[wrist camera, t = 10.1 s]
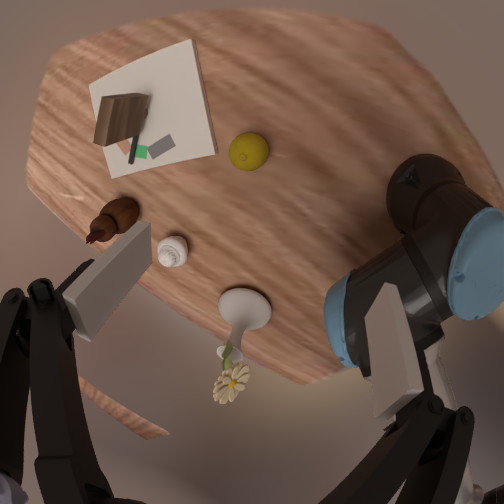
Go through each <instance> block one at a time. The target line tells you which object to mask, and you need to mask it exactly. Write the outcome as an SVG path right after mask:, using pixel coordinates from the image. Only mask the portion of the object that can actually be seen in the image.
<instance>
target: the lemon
mask: <svg viewBox="0 0 504 504" xmlns="http://www.w3.org/2000/svg"><path fill="white" fill-rule="evenodd" d="M268 153H269V150H268V145H267V143H266V141H265V140H264V139H263V138H262V137H261V136H260V135H258V134H255V133H244V134H241V135H239V136H237V137H236V138H235V139H234V140H233V141H232V143H231V145H230V148H229V158H230V160H231V162H232V164H233V165H234V166H235V167H236V168H238V169H240V170H243V171H253V170H256V169H258V168H259V167H261V166H262V165H263V164H264V163H265V162H266V160H267V158H268Z"/></svg>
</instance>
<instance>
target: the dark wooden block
mask: <svg viewBox="0 0 504 504" xmlns="http://www.w3.org/2000/svg"><path fill="white" fill-rule="evenodd" d="M148 97H149V95H145V94H141V93H128V94H118V95H109V96H102V98H101V102H100V107H99V112H98V117H97V123H96V129H95V135H94V142H93V143H95V144H98V145H101V146H104V147H106V146H109V145H112V144H114V143H117V142H120V141H123V140H126V139H129V138H132V137H133V140H132V144H131V149H130V155H129V160H128V164H131V165H132V164H133V162H134V157H135V152H136V147H137V142H138V138H139V133H140V129H141V125H142V121H143V119H145V118H146V117H147V115H148V111H147V109H146V105H147V101H148Z"/></svg>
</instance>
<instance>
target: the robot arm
mask: <svg viewBox="0 0 504 504" xmlns="http://www.w3.org/2000/svg"><path fill="white" fill-rule="evenodd" d="M386 200H387V209H388V212H389V215H390V218H391V220H392V221H393V223H394V225H395V226H396V228H397V229H398V230H399V232H400V233H401V234H402V235H404V236H405V237H404V238H402V239H401V240H399V241H398V242H396V243H395V244H393V245H392V246H390V247H389V248H387V249H386V250H385V251H383V252H382V253H380V254H379V255H377V256H376V257H374V258H373V259H371V260H369V261H368V262H366V263H365V264H363V265H362V266H360V267H359V268H357V269H353V270H351V271H350V272H349V273H348V274H347V275H346V276H345V277H344V278H342V279H341V280H339V281H338V282H337V283H335V284H334V285H333V286H331V288H330V289H329V290H328V292H327V294H326V297H325V303H324V323H325V328H326V332H327V336H328V339H329V342H330V345H331V347H332V349H333V351H334V353H335V355H336V356H337V357H339V359H340V362H341V363H342V364H343V365H345V366H346V367H351V368H352V367H353V368H357V367H359V368H360V370H361V372H362V375H363V378H364V379H365V380H368V381H370V382H372V388H373V402H374V403H373V404H374V419H387V420H388V419H389V418H391V419H392V422H393V423H392V424H390V425H389V426H387V427H386V428H385V429H384V431H385V430H387V429H388V430H387V431H386V432H385V433H384V435H383V436H382V437H381V439H380V440H379V441H378V442H377V443H376V445H375V446H374V447H373V448H372V450H371V451H370V452H369V453H368V454H367V455H366V457H365V458H364V459H363V460H362V461H361V462H360V463H359V464H358V465H357V466H356V467H355V469H354V470H353V471H352V472H351V473H350V474H349V475H348V476H347V477H346V478H345V479H344V480H343V481H342V482H341V483H340V484H339V485H338V486H337V487H336V488H335V489H334V490H333V491H332V492H330V493H329V494H328V495H327V496H326V497H325V498H324V499H323V500H322V501H320V502H319V503H318V504H387V503H388V502H389V501H390V500H391V498H392V497H393V496H394V494H395V493H396V492H397V490H398V489H399V487H400V486H401V485H402V484H403V482H404V481H405V480H406V482H405V484H404V486H403V488H402V490H401V492H400V494H399V497H398V499H397V501H396V503H395V504H496V494H497V504H504V485H502V486H499V487H497V488H495V489H493V490H491V491H488V492H486V493H484V491H483V489H482V487H481V486H479V485H477V484H473V480H472V473H471V466H470V460H469V451H470V446H471V440H472V435H473V429H474V414H473V412H472V411H471V409H469V408H468V407H466V406H462V407H460V408H459V409H458V408H457V405H456V402H455V399H454V395H453V392H452V389H451V386H450V383H449V380H448V377H447V374H446V371H445V368H444V365H443V363H442V360H441V357H440V350H441V347H442V344H443V342H444V339H445V335H444V332H443V330H442V328H441V325H440V323H441V322H443V321H444V320H446V319H447V318H449V317H451V316H452V315H454V314H455V315H456V316H457V317H459V318H461V319H463V320H467V321H471V320H473V319H474V318H475V319H480V318H483V317H485V316H486V315H488V314H490V313H491V312H492V311H494V310H495V309H496V308H497V307H498V306H499V305H500V304H501V303H502V301H504V215H503V213H501V211H500V210H498V209H497V208H494V207H493V206H492V205H490V204H489V203H488V202H487V201H485V200H484V199H483V198H482V197H480V196H479V195H478V194H476V193H475V192H474V191H472V190H471V189H470V188H468V187H467V185H466V184H465V182H464V179H463V177H462V175H461V174H460V172H459V171H458V170H457V168H456V167H455V166H454V165H453V164H451V163H450V162H449V161H447V160H445V159H443V158H442V157H439V156H437V155H433V154H421V155H416V156H414V157H411V158H410V159H408V160H406V161H405V162H404V163H402V164H401V165H400V166H399V167H398V169H397V170H396V171H395V173H394V174H393V176H392V178H391V180H390V182H389V185H388V189H387V198H386ZM151 264H152V249H151V223H148V222H144V221H140V220H139V221H138V222H137V223H135V224H134V225H133V226H132V227H131V228H130V229H129V230H127V231H126V232H125V233H124V234H123V235H122V236H121V237H120V238H118V239H117V240H116V241H115V242H114V243H113V244H112V245H111V246H110V247H109V248H108V249H106V250H105V251H104V252H103V253H102V254H101V255H100V256H99V257H98V258H97V259H96V260H94V259H90V260H88V261H86V262H84V263H82V264H81V265H80V266H79V267H78V268H77V269H76V271H74V272H73V273H72V274H71V276H69V277H68V278H67V279H66V280H65V281H64V282H63V283H62V284H61V285H60V286H59V287H58V288H57V289H56V290H54V288H53V285H52V282H51V281H50V280H49V279H46V278H40V279H37V280H35V281H33V282H32V283H31V284H30V285H29V286H28V289H27V292H28V294H29V297H30V298H29V297H25V295H24V292H23V291H22V290H21V289H20V288H13V289H11V290H9V291H8V292H7V293H5V295H4V296H3V299H2V301H1V303H0V504H25V503H27V502H28V500H29V499H28V495H27V494H26V492H25V491H23V490H22V488H21V484H22V477H23V462H24V432H25V419H26V410H27V402H28V395H29V388H30V390H31V404H32V414H33V422H34V429H35V435H36V441H37V446H38V453H39V455H38V457H37V458H36V460H35V463H34V466H35V472H36V476H37V480H38V483H39V487H40V490H41V494H42V497H43V500H44V503H45V504H146V503H143V502H141V501H136V500H132V499H122V498H114V495H113V493H112V490H111V488H110V485H109V483H108V481H107V479H106V477H105V476H104V474H103V473H102V471H101V469H100V467H99V465H98V461H97V458H96V455H95V452H94V448H93V445H92V441H91V438H90V435H89V430H88V426H87V422H86V418H85V413H84V409H83V404H82V398H81V393H80V387H79V381H78V374H77V368H76V359H75V349H74V338H73V334H72V332H73V331H74V330H75V328H76V330H77V333H78V335H79V336H80V337H82V338H83V339H85V340H87V341H89V342H92V340H93V339H94V338H95V336H96V335H97V333H98V332H99V330H100V329H101V328H102V327H103V325H104V324H105V322H106V321H107V320H108V318H109V317H110V316H111V314H112V313H113V312H114V310H115V309H116V307H118V305H119V304H120V303H121V301H122V300H123V299H124V297H125V296H126V295H127V294H128V292H129V291H130V290H131V288H132V287H133V286H134V285H135V283H136V282H137V281H138V280H139V279H140V277H141V276H142V275H143V274H144V272H145V271H146V270H147V269H148V267H149V266H150V265H151ZM17 330H18V331H17ZM16 333H17V334H16ZM406 478H407V479H406Z"/></svg>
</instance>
